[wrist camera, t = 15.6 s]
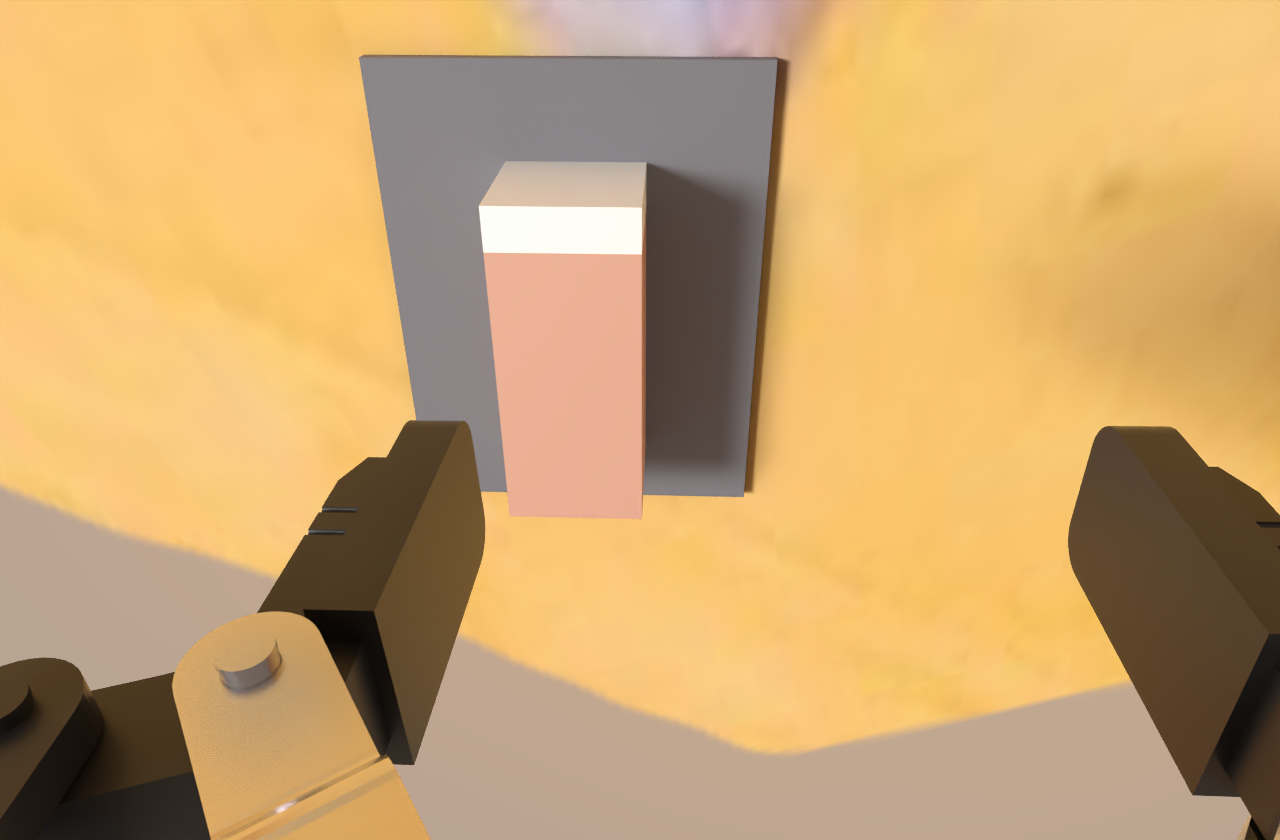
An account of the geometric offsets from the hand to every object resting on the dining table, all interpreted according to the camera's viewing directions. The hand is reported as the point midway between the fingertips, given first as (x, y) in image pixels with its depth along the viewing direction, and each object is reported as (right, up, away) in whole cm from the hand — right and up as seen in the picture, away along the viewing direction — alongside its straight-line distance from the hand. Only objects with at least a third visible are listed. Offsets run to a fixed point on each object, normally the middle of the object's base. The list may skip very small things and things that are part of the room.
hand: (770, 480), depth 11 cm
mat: (-4, +5, +23) cm, 24 cm away
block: (-4, -2, +24) cm, 24 cm away
